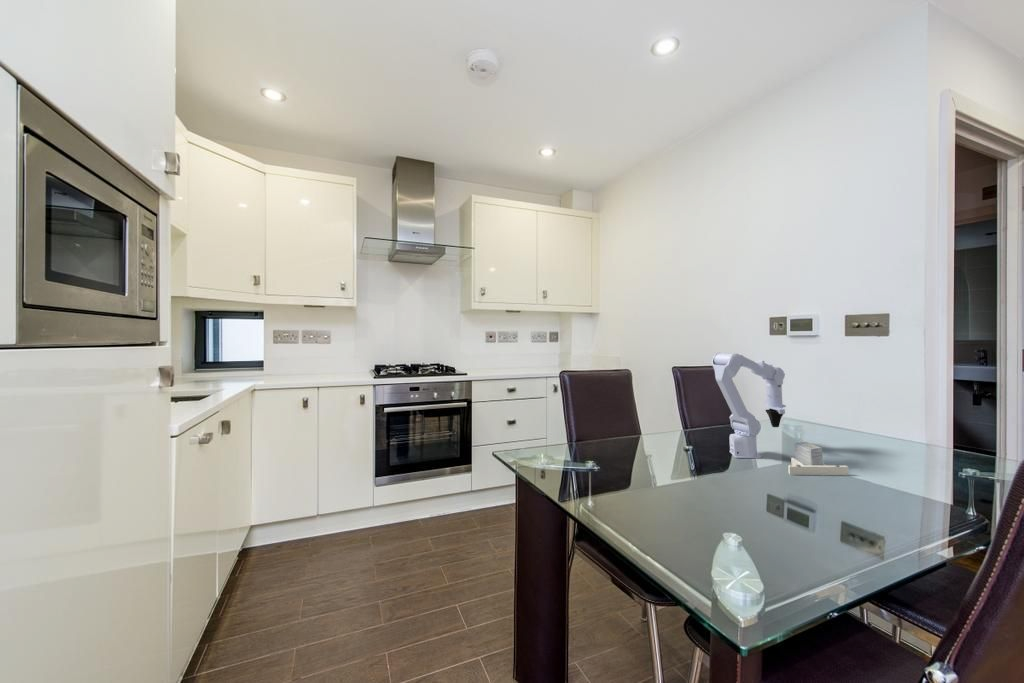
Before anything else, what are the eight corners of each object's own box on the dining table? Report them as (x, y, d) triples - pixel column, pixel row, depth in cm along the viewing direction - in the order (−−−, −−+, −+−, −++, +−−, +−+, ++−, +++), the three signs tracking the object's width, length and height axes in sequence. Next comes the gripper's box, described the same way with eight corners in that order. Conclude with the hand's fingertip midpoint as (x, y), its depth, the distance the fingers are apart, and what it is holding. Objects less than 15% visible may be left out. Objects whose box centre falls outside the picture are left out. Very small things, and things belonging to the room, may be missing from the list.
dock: (790, 474, 141) (789, 465, 141) (776, 464, 151) (776, 455, 151) (848, 475, 137) (848, 466, 137) (830, 464, 148) (830, 455, 147)
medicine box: (823, 471, 142) (822, 447, 141) (811, 472, 142) (810, 448, 141) (806, 463, 150) (805, 441, 149) (795, 464, 150) (794, 442, 149)
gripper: (792, 398, 159) (794, 431, 159) (776, 391, 173) (778, 422, 174) (773, 398, 160) (774, 431, 161) (759, 392, 175) (760, 422, 175)
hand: (775, 426), depth 167 cm, fingers closed
